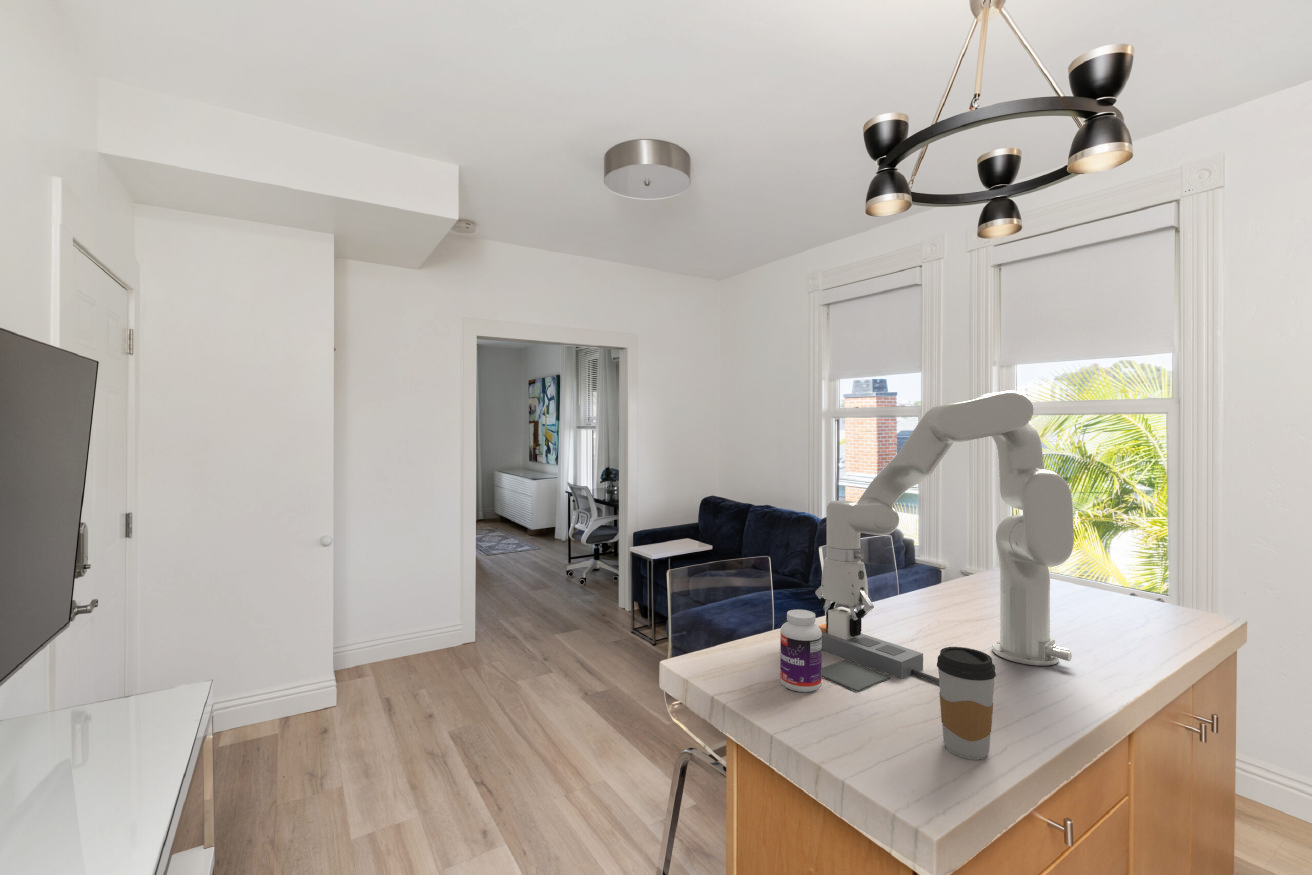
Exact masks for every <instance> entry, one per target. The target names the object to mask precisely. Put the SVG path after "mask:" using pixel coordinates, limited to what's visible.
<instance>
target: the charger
mask: <svg viewBox="0 0 1312 875" xmlns="http://www.w3.org/2000/svg"><path fill="white" fill-rule="evenodd" d="M856 612H857V610H856ZM850 619H853V618H852V615H851V612H850V608H848V607H846V606H845V607H844V606H839V607H835V609H831V610H828V634H830V635H833V636H836V637H839V638H842V639H845V640H848V639H851V638H854V637H851V636H850ZM859 636H860V635H859ZM855 637H857V636H855Z"/></svg>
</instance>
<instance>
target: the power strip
mask: <svg viewBox="0 0 1312 875" xmlns="http://www.w3.org/2000/svg"><path fill="white" fill-rule="evenodd" d="M817 626H818V627H819V628H820V629H821V632H822V650H823V651H826V652H828V653H831V654H833V655H836V656H838V657H842V658H844V659H846V660H848V661H851V662H854V663H856V664H859V665H862V666H864V667H867V668H870V669H872V670H875V671H878V672H880V673H883V674H886V675H888V676H893V677H896V678H898V679H901V680H902V679H905V678H907V677H909V676H912V675H914V676H917V677H920V678H921V679H924V680H928V681H930V682H933V683H935V684H939V677H936V676H933V675H930V674H928V673H925V672H923V670H924V653H923V652H921V651H917V650H914V649H911V648H907V647H905V646H901V645H898V644H895V643H893V642H890V641H887V640H883V639H880V638H877V637H873V636H870V635H868V634H864V633H862V632H861V635H860V636H857V637H854V638H851V639H848V640H845V639H842V638H839V637H836V636H833V635H830V634H828V629H827V628H826V623H823V624H819V625H817Z"/></svg>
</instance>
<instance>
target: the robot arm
mask: <svg viewBox="0 0 1312 875" xmlns="http://www.w3.org/2000/svg"><path fill="white" fill-rule="evenodd" d="M1033 415H1034V405H1033V401H1032V400H1031V399H1030V397H1028V396H1027V395H1026V394H1024V393H1022V392H1019V391H1015V390H1005V391H999V392H991V393H985V394H981V395H979V396H978V397H976V398H974V399H971V400H965V401H959V402H955V403H948V404H947V403H946V404H940V405H935V406H933V407H931V408H929V410H927V411H926V412H925V414H924V415H923V416H922V417H921V419H920V420H919V422H918V423H917V425H916V426H915V428H914V430H913V431H912V432H911V433H910V435H909V436H908V438H907V439H906V441H905V442H904V444H903V445H902V446H901V448H900V449H899V450H898V452H897V453H896V455H895V456H894V457H893V458H892V460H890V461H889V462H888V463H887V464H886V466H884V468H883V469H882V470H881V471H880V472H879V473H878V474H877V475H876V476H875V477H874V479H873V480H872V481H871V482H870V484H868V486H867V488H866V489H865V490H864V492H863V493H862V495H861V497H860V498H859V499H858V501H857V502H856V501H853V500H852V501H850V500H832V501H829V502H828V503H827V505H826V557H825V558H824V561H823V566H822V572H821V585H820V586H818V588H817V589H816V590H815V593H814V594H815V595H816V596H817V598H818V599H819V602H820V603H821V605H822V607H823V610H824V611H825V624H826V628H827V629H828V610H831V609H835V608H836V606H837V604H839V605H843V606H845V607H846V606H847V607H849V608H848V609H850V612H851V615H852V618H853V619H850V636H851V637H855V636H859V635H861V633H862V619H863V618H865V617H866V616H867V614H869V612H871V611H872V610H873V609H874V608H875V607H874V606H875V605H874V604H873V602H872V601H871V600H870V598H869V589H868V588H869V586H868V578H867V576H868V575H867V571H866V566H865V563H864V562H863V561H861V559H862V560H863V559H864V558H865V553H864V552H861V534H868V535H874V536H875V535H876V536H887V535H890V534H892V533H893V532H894V531H896V530H897V528H898V527H899V523H900V516H899V513H898V511H897V510H896V509H895V508H894V506H895V504H896V503H897V501H898V500H899V499H900V497H901V496H902V495H903V494H905V492H907V491H908V490H909V489H911V488H913V487H915V486H916V485H918V484H920V483H922V482H924V481H925V480H927V479H928V478H930V477H931V475H932V474H933V472H934V471H935V470H936V468H937V467H938V465H939V464H940V463H941V461H942V459H943V458H944V456H945V455H946V454H947V453H948V452H949V449H950V448H951V447H952V446H953V444H954V443H963V442H968V441H974V440H979V439H984V438H988V437H992V439H993V441H994V443H995V445H996V449H997V454H998V471H999V472H998V473H999V475H998V476H999V492H1000V497H1001V499H1002V501H1003V503H1004V504H1007V506H1009V507H1012V508H1014V509H1017V510H1021V511H1022V514H1014V515H1010V516H1007V517H1006V518H1004V519H1003V520H1001V522H1000V523H999V524H998V526H997V528H996V533H995V542H996V549H997V553H998V560H999V562H998V563H999V641H996V642H994V643H993V644H992V647H991V650H992V651H993V653H994V654H996V655H997V656H998V657H1001V658H1003V659H1005V660H1008V661H1010V662H1015V663H1017V664H1018V663H1019V664H1024V665H1030V666H1037V667H1039V666H1040V667H1042V666H1043V667H1044V666H1053V665H1056V664H1058V663H1059V659H1060V660H1063V661H1066V662H1071V661H1072V656H1073V654H1072V652H1071V651H1070V649H1068V648H1065V647H1059V646H1058V645H1057V644H1056V639H1055V638H1052V637H1051V578H1050V571H1049V567H1050V568H1052V567H1058V566H1061V565H1062V564H1064V563H1065V562H1067V560H1069V559H1070V557H1071V554H1072V552H1073V550H1074V549H1073V548H1074V540H1075V534H1074V510H1073V507H1074V506H1073V496H1072V492H1071V488H1070V487H1069V485H1068V483H1067V481H1066V480H1065V479H1064V478H1063V477H1062V476H1061V475H1060V474H1058V473H1056V472H1055V471H1052V470H1047V469H1045V465H1044V456H1043V455H1044V454H1043V445H1042V441H1041V438H1040V434H1039V432H1038V431H1037V430H1038V429H1036V426H1034V424H1033V423H1032V422H1031V420H1032V418H1033ZM862 605H863V607H862ZM856 611H857V612H856Z"/></svg>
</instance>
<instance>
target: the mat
mask: <svg viewBox="0 0 1312 875" xmlns="http://www.w3.org/2000/svg"><path fill="white" fill-rule="evenodd" d="M891 676H892V675H889V674H887V673H884V672H881V671H879V670H876V669H873V668H871V667H868V666H865V665H863V664H860V663H857V662H854V661H852V660H849V659H846V658H844V659H843V660H840V661H837V662H835V663H832V664H829V665H827V666H823V667H822V679H825V680H827V681H830V682H833V683H835V684H837V685H840V686H842V687H844V688H847V689H849V690H851V691H853V692H856V693H859V692H862V691H864V690H867V689H869V688H871V687H873V686H876V685H879V684H880V683H883V682H885V681H888V680H889V679H891Z"/></svg>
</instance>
